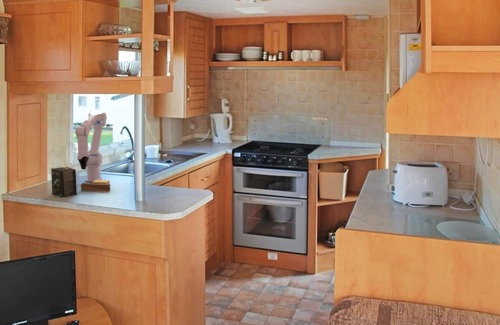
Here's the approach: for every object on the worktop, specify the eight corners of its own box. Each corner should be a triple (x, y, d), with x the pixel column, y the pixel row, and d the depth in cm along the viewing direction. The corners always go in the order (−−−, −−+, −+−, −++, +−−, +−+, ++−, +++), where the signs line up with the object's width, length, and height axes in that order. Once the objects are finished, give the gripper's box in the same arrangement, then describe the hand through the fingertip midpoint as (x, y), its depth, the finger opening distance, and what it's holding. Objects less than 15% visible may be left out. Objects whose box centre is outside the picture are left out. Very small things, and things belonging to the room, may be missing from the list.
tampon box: (77, 194, 279) (76, 169, 276) (61, 197, 272) (60, 171, 270) (67, 191, 286) (66, 166, 284) (51, 194, 279) (50, 168, 277)
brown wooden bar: (82, 189, 291) (82, 182, 290) (110, 190, 291) (110, 183, 290) (81, 190, 288) (80, 184, 287) (108, 191, 288) (108, 184, 287)
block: (96, 187, 297) (96, 179, 296) (109, 188, 297) (109, 180, 296) (92, 190, 291) (92, 181, 290) (106, 190, 291) (106, 182, 290)
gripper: (85, 148, 290) (86, 171, 292) (93, 145, 304) (94, 167, 307) (73, 148, 290) (74, 171, 292) (81, 144, 304) (82, 166, 307)
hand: (83, 169), depth 300 cm, fingers closed
